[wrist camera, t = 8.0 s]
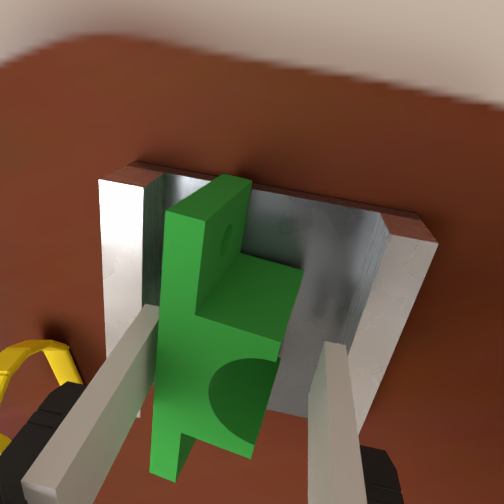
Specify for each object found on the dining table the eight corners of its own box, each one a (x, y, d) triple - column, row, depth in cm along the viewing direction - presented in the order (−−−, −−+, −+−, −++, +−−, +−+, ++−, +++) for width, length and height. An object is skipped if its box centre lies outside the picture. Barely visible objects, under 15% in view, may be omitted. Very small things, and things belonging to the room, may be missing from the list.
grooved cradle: (415, 212, 14) (438, 243, 11) (341, 412, 19) (346, 464, 16) (134, 160, 15) (99, 179, 12) (134, 367, 20) (108, 410, 17)
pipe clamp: (267, 413, 18) (237, 509, 14) (196, 388, 19) (148, 473, 15) (324, 196, 13) (304, 250, 9) (223, 171, 13) (162, 211, 9)
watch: (27, 320, 20) (-83, 404, 14) (74, 318, 19) (-21, 405, 14) (61, 408, 22) (-23, 510, 16) (104, 409, 21) (33, 515, 16)
